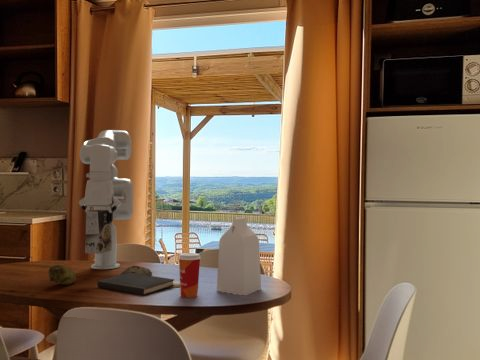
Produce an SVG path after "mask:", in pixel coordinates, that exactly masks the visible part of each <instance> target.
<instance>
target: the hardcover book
mask: <svg viewBox="0 0 480 360" xmlns="http://www.w3.org/2000/svg"><path fill="white" fill-rule="evenodd" d="M173 282H175V279H174V278H167V277H160V276H154V275H151V276H148V275H141V274H134V273H127V274H123V275H120V274H118V275H116V276H112V277H108V278H105V279H101V280H98V281H97V283H96V284H97V288H102V289H107V290H113V291H119V292H124V293H128V294H136V295H141V296H147V295H149V294H153V293H156V292H159V291H162V290H165V289H168V288H171V286H174V285H173Z"/></svg>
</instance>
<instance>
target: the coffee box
mask: <svg viewBox="0 0 480 360" xmlns="http://www.w3.org/2000/svg"><path fill="white" fill-rule="evenodd" d="M107 213H108V210H94V209H93V210H92V209H91V211H86V212H85V246H84V247H85V249H84V253H85V254H94V255H95V254H101V253H105V252H108V251H111V250H112V223H113V221H112V222H111V223H107Z"/></svg>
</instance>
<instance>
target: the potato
mask: <svg viewBox="0 0 480 360" xmlns="http://www.w3.org/2000/svg"><path fill="white" fill-rule="evenodd" d="M47 271H48V277H49V281H50V282H54V283H57V284H61V285H64V286H66V285H71V284H73V283H74V282H75V280H76V279H77V276H76V272H75V271H74V270H72V269H70V268H68V267H67V266H66V265H63V264H55V265H52V266H50V268H48V270H47Z"/></svg>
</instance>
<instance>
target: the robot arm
mask: <svg viewBox="0 0 480 360" xmlns="http://www.w3.org/2000/svg"><path fill="white" fill-rule="evenodd" d="M79 149H80V150H79V160H80V161H81V163H83V164H85V165H89V172H88V173H86V175H85V176H86V178H89V179H88V180H87V182H86V184H85V193H84V197H82V198H81V199H79V201H78V205H79V206H80V207H81V209H82V210H83V211H84V212H85V213H86V211H92V209H93V210H108V213H107V223H111V222H112V250H111V251H108V252H105V253H101V254H94V263H92V264H91V265H90V268H91V269H93V270H111V269H117V268H120V263H118V262H117V243H118V242H117V240H118V238H117V237H118V233H117V231H118V229H117V227H116V225H115V224H114V222H113V220H129V219H131V218H132V216H133V213H134V185H133V181H132V180H131V179H130V178H125V177H124V178H123V177H122V178H119V177H118V173H119V172H118V168H117V167H116V166H115V163H116V161H121V160H123V161H125V160H126V161H127V160H129V159H130V158H131V156H132V154H133V153H132V138H131V135H130V133H129V132H128V131H126V130H120V129H119V130H118V129H117V130H116V129H106V130H102V131H101V132H99V133H98V135H97V137H96V138H92V139H88V140H85V141H83V143H82V145H81V147H80V148H79Z"/></svg>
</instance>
